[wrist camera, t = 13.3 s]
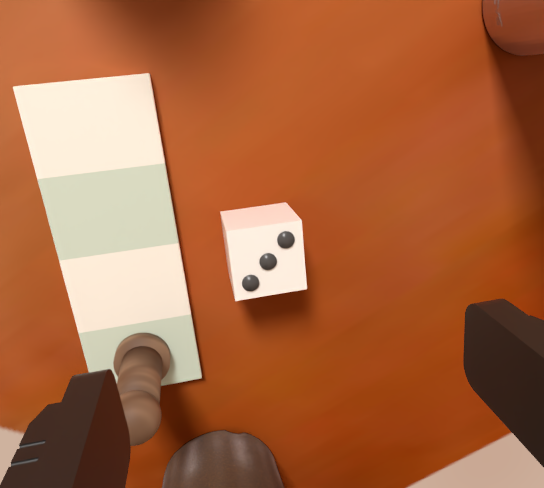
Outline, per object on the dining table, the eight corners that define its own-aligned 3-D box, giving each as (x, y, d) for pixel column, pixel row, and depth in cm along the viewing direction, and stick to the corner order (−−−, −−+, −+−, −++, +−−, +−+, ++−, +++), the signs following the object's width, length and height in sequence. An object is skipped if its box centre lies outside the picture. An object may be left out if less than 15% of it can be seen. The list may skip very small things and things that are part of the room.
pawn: (165, 328, 43) (161, 400, 34) (174, 374, 45) (172, 455, 35) (109, 337, 43) (88, 413, 33) (121, 383, 44) (103, 469, 35)
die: (286, 202, 43) (301, 220, 37) (291, 263, 45) (307, 289, 39) (220, 211, 42) (226, 231, 36) (228, 273, 44) (235, 301, 38)
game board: (149, 73, 37) (148, 73, 36) (201, 372, 47) (201, 378, 46) (17, 86, 36) (12, 86, 35) (97, 391, 45) (95, 398, 44)
